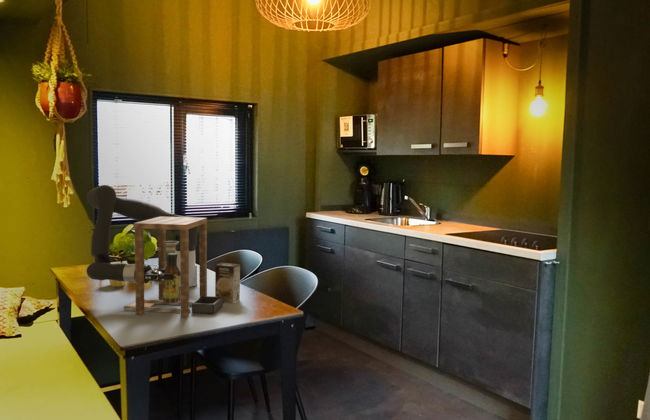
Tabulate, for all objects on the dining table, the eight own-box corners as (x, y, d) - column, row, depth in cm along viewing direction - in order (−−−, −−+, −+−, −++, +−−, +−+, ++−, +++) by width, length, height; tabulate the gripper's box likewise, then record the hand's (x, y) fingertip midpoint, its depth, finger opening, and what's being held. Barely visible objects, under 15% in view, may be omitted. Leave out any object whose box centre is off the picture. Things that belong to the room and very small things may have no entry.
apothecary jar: (154, 276, 282) (153, 242, 281) (171, 272, 293) (171, 239, 291) (170, 279, 276) (170, 244, 274) (188, 275, 286) (188, 241, 285)
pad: (124, 309, 222) (124, 308, 222) (135, 302, 232) (134, 301, 232) (145, 310, 221) (145, 309, 221) (155, 303, 231) (155, 302, 231)
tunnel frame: (116, 314, 214) (114, 222, 211) (143, 298, 239) (142, 215, 236) (186, 317, 212) (186, 224, 208) (207, 301, 236) (207, 217, 233)
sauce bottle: (160, 303, 222) (160, 254, 220) (166, 299, 228) (166, 251, 226) (175, 304, 221) (175, 255, 219) (181, 300, 227) (181, 252, 226)
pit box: (191, 313, 218) (191, 303, 218) (201, 305, 230) (201, 295, 230) (213, 314, 217) (213, 304, 217) (222, 306, 229) (222, 296, 229)
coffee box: (214, 301, 236) (214, 264, 234) (221, 298, 242) (221, 262, 240) (233, 304, 233) (233, 266, 231) (240, 300, 239) (240, 263, 237)
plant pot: (118, 288, 256) (118, 267, 255) (101, 286, 260) (100, 265, 259) (134, 284, 266) (133, 264, 265) (117, 281, 270) (116, 262, 269)
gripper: (129, 267, 218) (170, 269, 216) (144, 261, 232) (183, 262, 230) (129, 286, 218) (170, 288, 217) (144, 278, 233) (183, 280, 231)
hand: (176, 275), depth 224 cm, fingers closed on sauce bottle, 6 cm apart
